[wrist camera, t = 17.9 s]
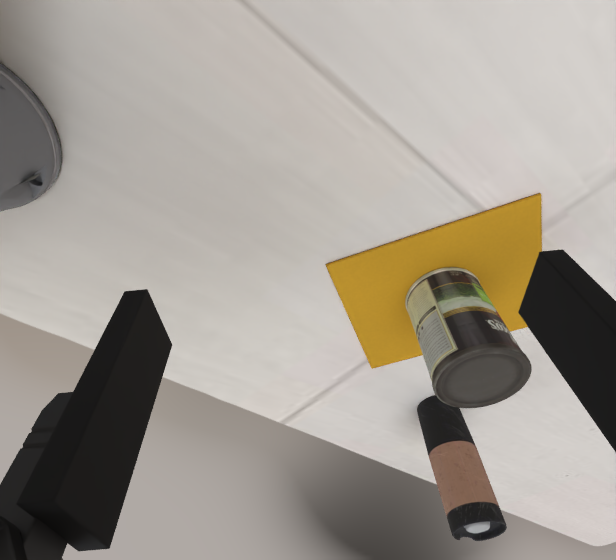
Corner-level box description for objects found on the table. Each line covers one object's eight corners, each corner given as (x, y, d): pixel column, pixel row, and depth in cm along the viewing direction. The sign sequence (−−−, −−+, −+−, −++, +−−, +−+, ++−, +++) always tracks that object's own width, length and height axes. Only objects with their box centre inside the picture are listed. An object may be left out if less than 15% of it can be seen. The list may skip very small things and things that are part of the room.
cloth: (371, 366, 62) (371, 368, 61) (325, 264, 49) (325, 265, 49) (541, 321, 57) (542, 322, 56) (539, 192, 44) (541, 194, 43)
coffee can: (460, 252, 48) (510, 333, 37) (492, 299, 53) (545, 383, 42) (389, 293, 52) (416, 378, 41) (426, 333, 57) (459, 419, 46)
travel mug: (450, 388, 66) (499, 516, 50) (463, 409, 70) (513, 534, 54) (408, 403, 68) (444, 530, 53) (424, 423, 72) (461, 546, 57)
